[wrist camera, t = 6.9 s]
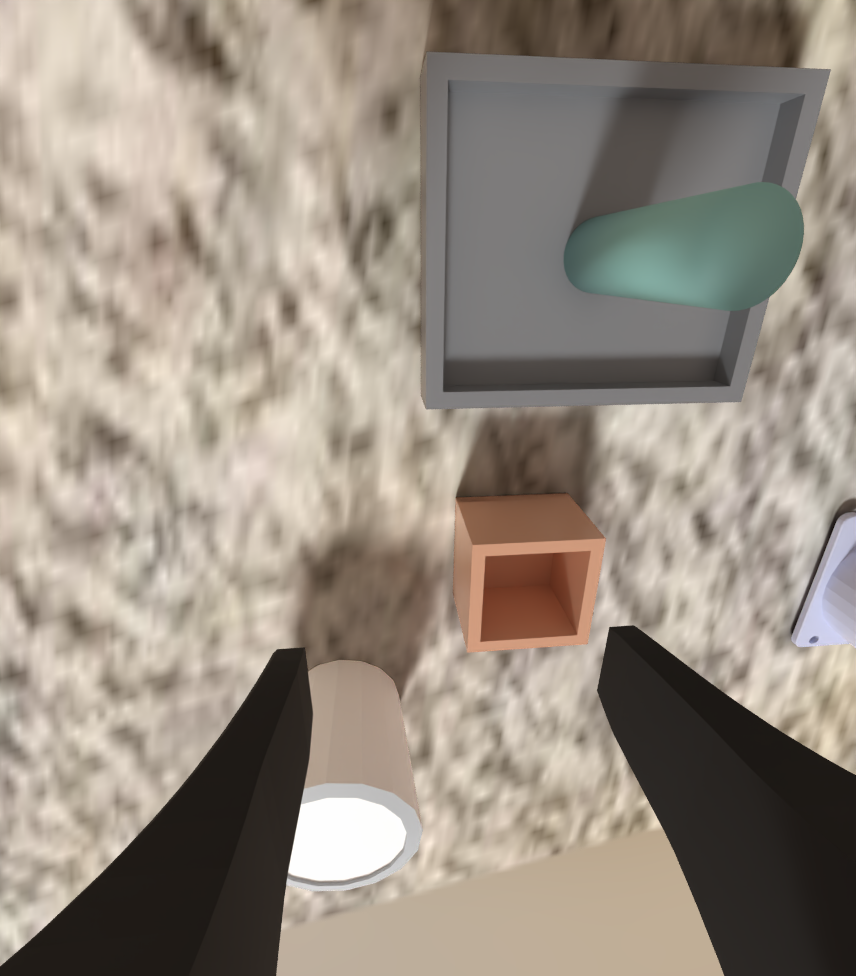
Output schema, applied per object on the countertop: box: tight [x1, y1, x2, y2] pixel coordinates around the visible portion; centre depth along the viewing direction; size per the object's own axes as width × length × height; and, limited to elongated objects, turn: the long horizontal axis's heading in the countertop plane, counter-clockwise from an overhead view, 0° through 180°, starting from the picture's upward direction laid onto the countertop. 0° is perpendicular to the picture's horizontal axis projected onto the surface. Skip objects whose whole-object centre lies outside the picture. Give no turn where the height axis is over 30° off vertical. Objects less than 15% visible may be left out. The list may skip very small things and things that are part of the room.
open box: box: [453, 493, 606, 652], centre depth 21 cm, size 5×5×4 cm
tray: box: [420, 52, 831, 409], centre depth 17 cm, size 12×10×2 cm
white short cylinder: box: [286, 660, 423, 891], centre depth 23 cm, size 7×7×7 cm
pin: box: [564, 182, 804, 311], centre depth 14 cm, size 2×2×8 cm
